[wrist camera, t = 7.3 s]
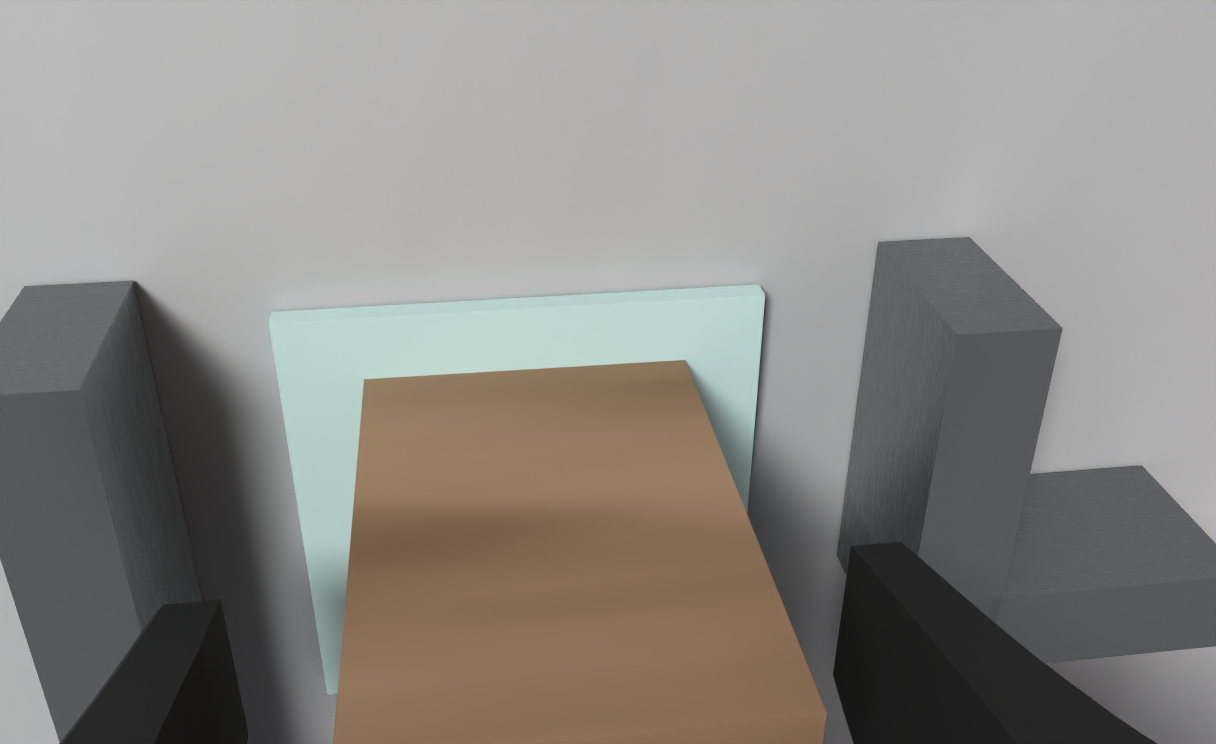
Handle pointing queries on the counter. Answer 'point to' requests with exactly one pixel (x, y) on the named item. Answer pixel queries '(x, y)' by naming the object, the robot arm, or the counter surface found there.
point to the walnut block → (559, 570)
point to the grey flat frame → (872, 513)
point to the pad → (484, 342)
